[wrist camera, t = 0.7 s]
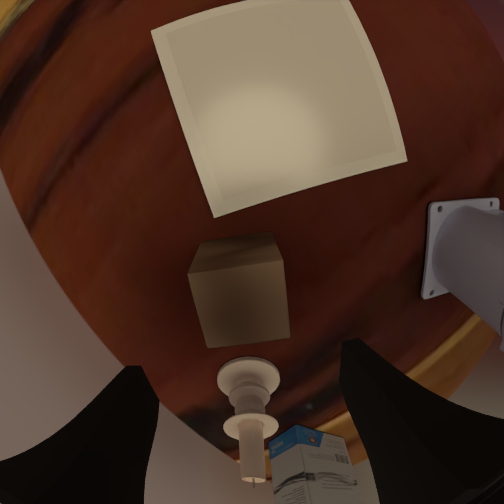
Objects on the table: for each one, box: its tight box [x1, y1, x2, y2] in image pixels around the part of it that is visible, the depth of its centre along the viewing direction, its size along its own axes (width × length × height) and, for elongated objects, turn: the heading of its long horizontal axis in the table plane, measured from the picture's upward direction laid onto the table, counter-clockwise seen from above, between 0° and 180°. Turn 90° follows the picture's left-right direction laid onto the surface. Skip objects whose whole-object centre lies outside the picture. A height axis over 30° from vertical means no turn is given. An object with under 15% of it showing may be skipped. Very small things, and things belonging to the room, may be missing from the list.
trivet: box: [151, 0, 407, 218], centre depth 13 cm, size 12×12×2 cm
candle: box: [217, 356, 280, 488], centre depth 17 cm, size 5×5×10 cm
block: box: [187, 232, 290, 348], centre depth 16 cm, size 4×4×5 cm
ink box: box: [269, 425, 363, 504], centre depth 20 cm, size 8×5×12 cm, turn 51°
